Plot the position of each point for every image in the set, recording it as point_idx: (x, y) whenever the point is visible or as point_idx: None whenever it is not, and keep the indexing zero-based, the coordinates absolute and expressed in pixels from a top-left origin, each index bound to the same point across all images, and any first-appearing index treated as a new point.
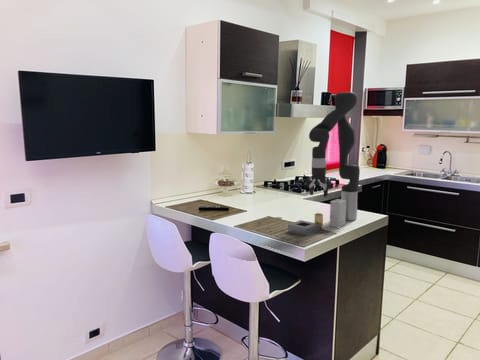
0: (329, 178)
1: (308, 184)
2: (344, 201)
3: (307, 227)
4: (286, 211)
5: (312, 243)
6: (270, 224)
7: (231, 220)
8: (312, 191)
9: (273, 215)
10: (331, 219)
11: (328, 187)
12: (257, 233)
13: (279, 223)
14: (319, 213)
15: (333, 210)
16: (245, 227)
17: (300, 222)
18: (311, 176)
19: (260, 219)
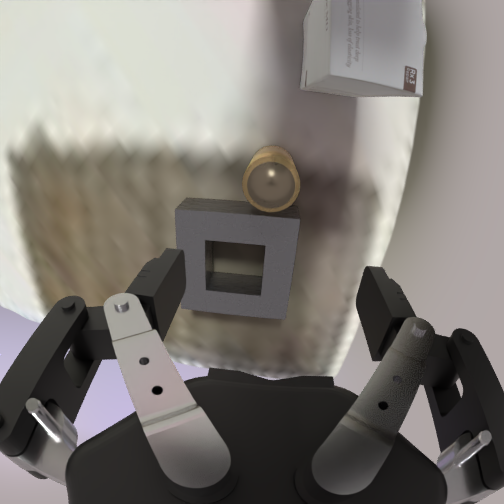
0: (497, 485)
1: (91, 367)
2: (421, 10)
3: (278, 302)
4: (16, 44)
5: (337, 345)
6: (79, 244)
7: (5, 277)
8: (172, 289)
9: (12, 130)
10: (317, 89)
11: (446, 393)
12: None
13: (88, 209)
14: (266, 166)
15: (345, 87)
16: None
17: (201, 249)
18: (58, 481)
19: (22, 212)
